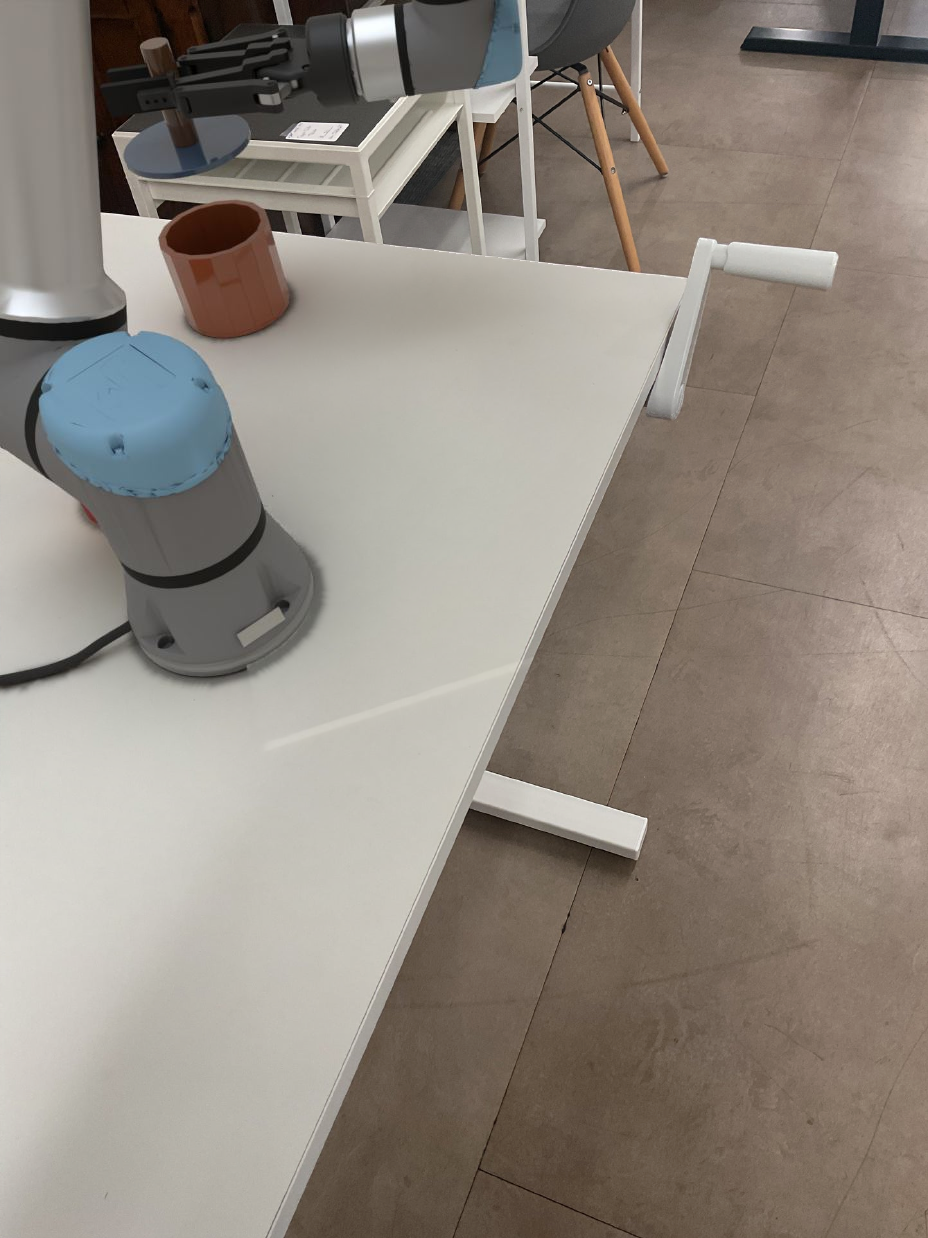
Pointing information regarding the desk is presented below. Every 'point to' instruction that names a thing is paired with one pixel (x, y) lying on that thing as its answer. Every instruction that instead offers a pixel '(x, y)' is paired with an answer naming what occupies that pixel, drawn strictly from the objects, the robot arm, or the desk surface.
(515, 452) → the desk surface
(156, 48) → the lid
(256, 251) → the jar
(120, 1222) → the desk surface
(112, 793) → the desk surface
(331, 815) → the desk surface
